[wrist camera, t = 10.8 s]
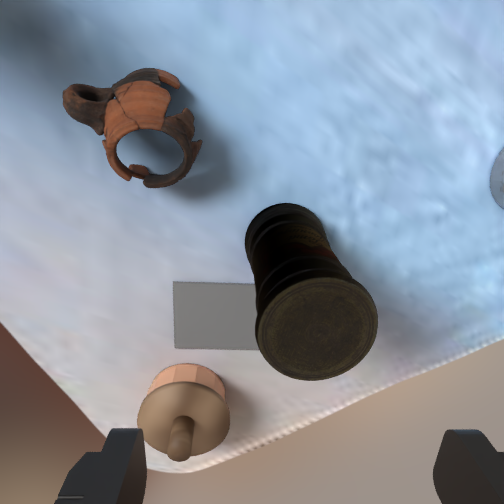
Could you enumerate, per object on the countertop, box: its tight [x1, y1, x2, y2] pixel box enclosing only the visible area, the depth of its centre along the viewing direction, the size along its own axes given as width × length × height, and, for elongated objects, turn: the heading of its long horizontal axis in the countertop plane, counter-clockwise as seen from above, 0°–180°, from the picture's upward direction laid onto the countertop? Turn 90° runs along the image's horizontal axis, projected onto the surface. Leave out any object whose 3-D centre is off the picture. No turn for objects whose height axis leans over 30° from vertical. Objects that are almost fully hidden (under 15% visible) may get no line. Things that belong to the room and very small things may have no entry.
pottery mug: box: [63, 68, 202, 188], centre depth 34 cm, size 12×10×8 cm
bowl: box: [147, 363, 225, 400], centre depth 47 cm, size 10×10×4 cm
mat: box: [173, 282, 259, 350], centre depth 44 cm, size 11×9×1 cm
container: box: [245, 203, 378, 381], centre depth 33 cm, size 9×9×18 cm
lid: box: [137, 381, 230, 462], centre depth 42 cm, size 11×11×5 cm
